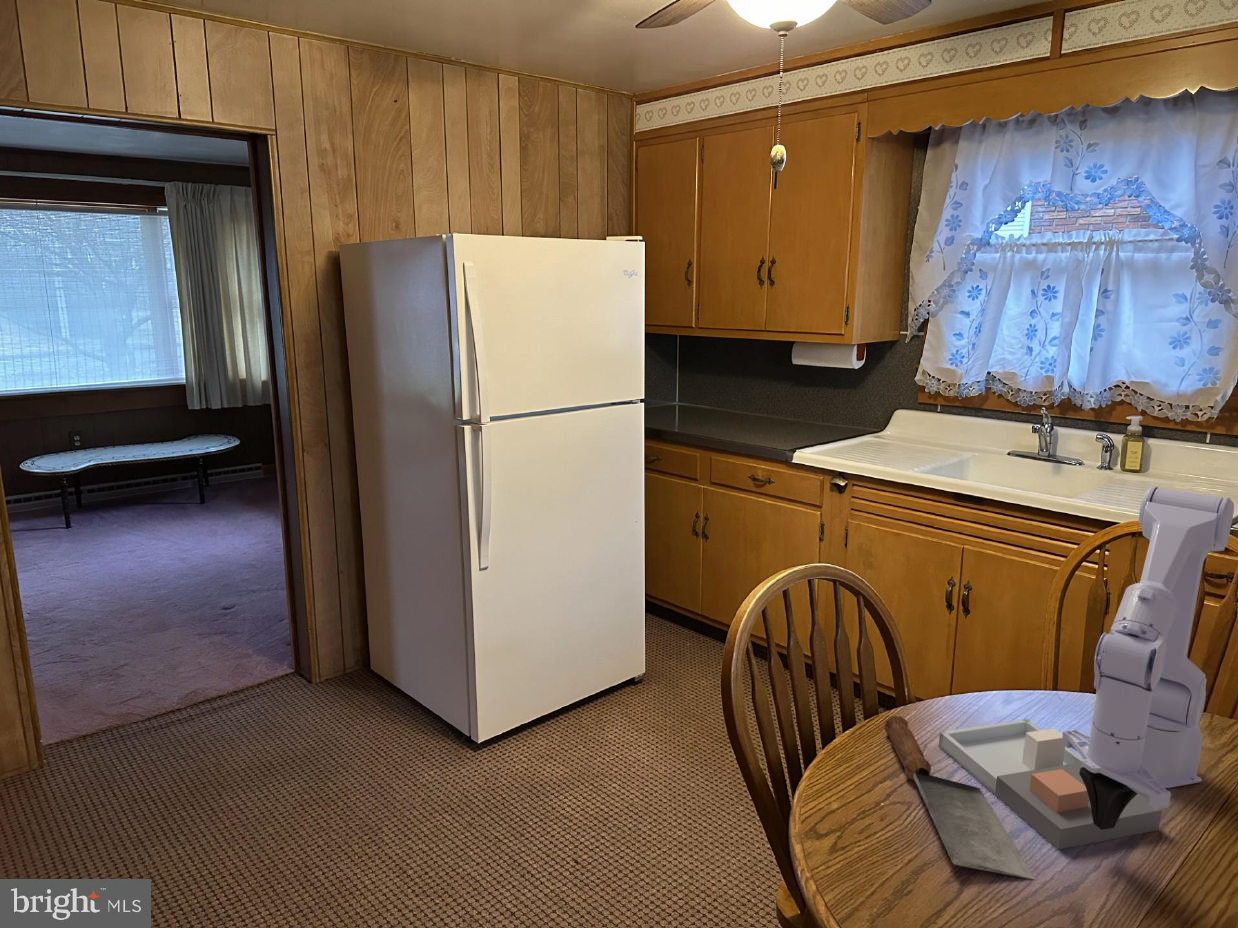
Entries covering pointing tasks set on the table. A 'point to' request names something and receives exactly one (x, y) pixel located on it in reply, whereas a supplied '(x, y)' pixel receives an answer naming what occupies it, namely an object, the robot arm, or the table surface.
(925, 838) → the table surface
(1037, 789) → the tile terracotta
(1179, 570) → the robot arm
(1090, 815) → the board
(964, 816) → the meat cleaver
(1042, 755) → the tile white
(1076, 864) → the table surface
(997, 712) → the table surface
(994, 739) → the tray
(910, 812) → the table surface
